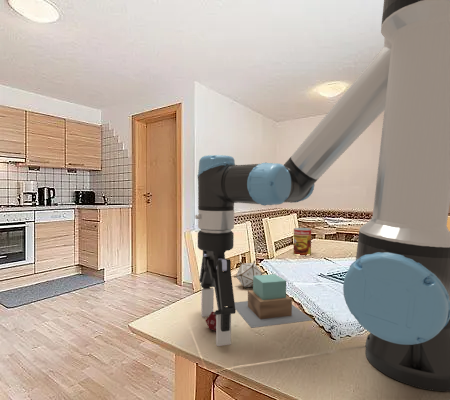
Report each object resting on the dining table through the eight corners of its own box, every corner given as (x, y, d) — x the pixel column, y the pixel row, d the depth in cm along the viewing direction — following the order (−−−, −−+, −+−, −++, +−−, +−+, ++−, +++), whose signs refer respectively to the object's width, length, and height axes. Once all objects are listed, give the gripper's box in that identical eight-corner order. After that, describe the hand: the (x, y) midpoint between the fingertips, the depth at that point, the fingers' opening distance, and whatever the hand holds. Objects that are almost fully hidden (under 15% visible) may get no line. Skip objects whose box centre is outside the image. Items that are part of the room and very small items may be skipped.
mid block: (286, 297, 73) (286, 280, 72) (262, 299, 71) (262, 282, 71) (275, 289, 78) (275, 274, 78) (253, 291, 77) (253, 275, 77)
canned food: (291, 255, 141) (291, 229, 141) (296, 252, 148) (296, 227, 147) (308, 257, 137) (308, 230, 137) (312, 253, 144) (313, 228, 144)
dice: (207, 326, 67) (207, 308, 67) (227, 327, 66) (227, 309, 66) (203, 334, 63) (203, 315, 63) (224, 336, 63) (224, 316, 62)
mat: (312, 321, 70) (312, 319, 70) (251, 329, 66) (251, 327, 65) (282, 298, 84) (282, 297, 84) (230, 304, 80) (230, 302, 80)
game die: (253, 301, 92) (262, 281, 86) (227, 289, 94) (235, 268, 88) (261, 280, 99) (270, 259, 93) (237, 269, 101) (244, 248, 95)
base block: (291, 315, 72) (291, 298, 72) (260, 319, 70) (260, 301, 70) (276, 303, 80) (276, 288, 80) (247, 306, 78) (247, 290, 77)
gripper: (188, 223, 75) (187, 308, 76) (212, 241, 51) (211, 365, 52) (217, 223, 77) (216, 305, 78) (254, 239, 53) (252, 358, 54)
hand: (214, 329), depth 65 cm, fingers open, 13 cm apart
